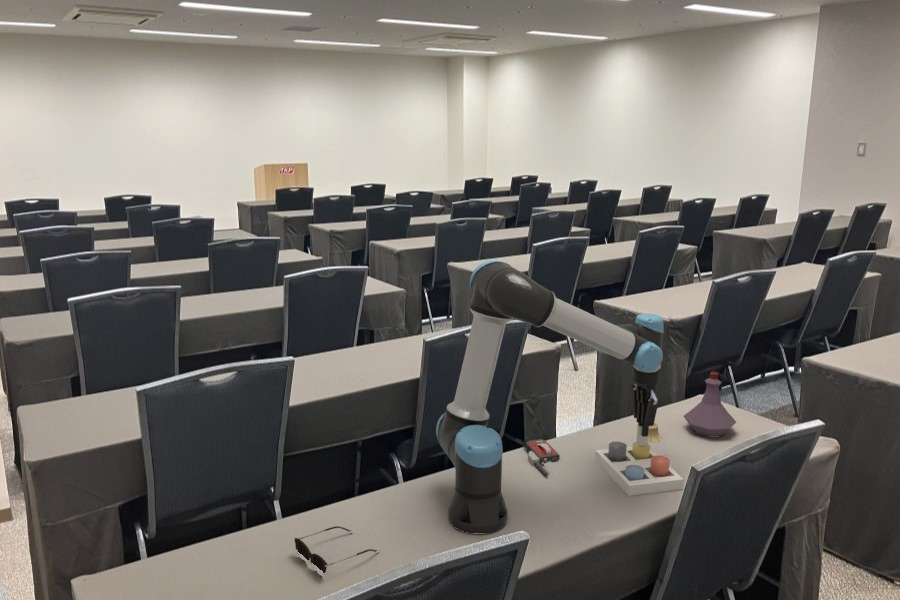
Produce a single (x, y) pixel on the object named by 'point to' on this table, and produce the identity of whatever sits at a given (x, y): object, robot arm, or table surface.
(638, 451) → the button mustard
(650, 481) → the console
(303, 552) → the sunglasses
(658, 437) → the hand bell
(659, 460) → the button brick
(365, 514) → the table surface
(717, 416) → the flask
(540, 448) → the walkie-talkie
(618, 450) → the button charcoal
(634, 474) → the button slate
